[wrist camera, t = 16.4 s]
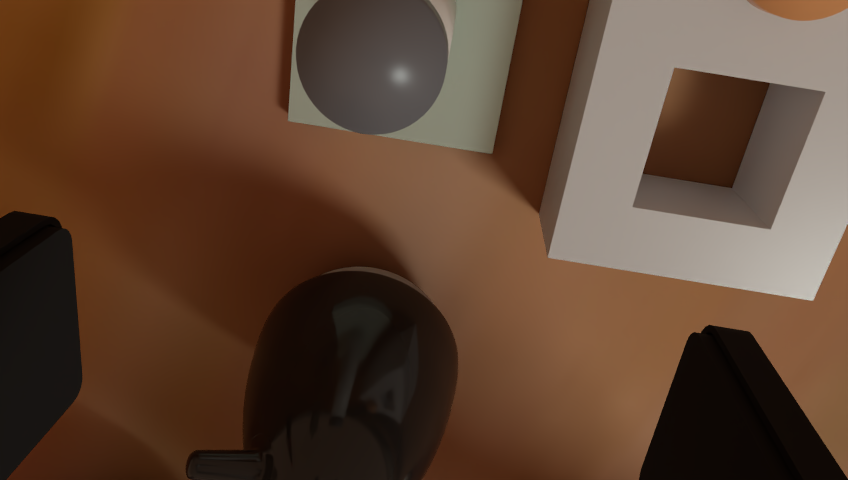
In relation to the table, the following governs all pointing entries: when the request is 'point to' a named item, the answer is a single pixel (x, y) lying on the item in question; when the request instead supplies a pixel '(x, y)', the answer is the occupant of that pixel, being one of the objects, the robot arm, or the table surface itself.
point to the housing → (690, 201)
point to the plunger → (801, 8)
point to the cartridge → (375, 60)
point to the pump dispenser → (344, 385)
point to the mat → (446, 79)
